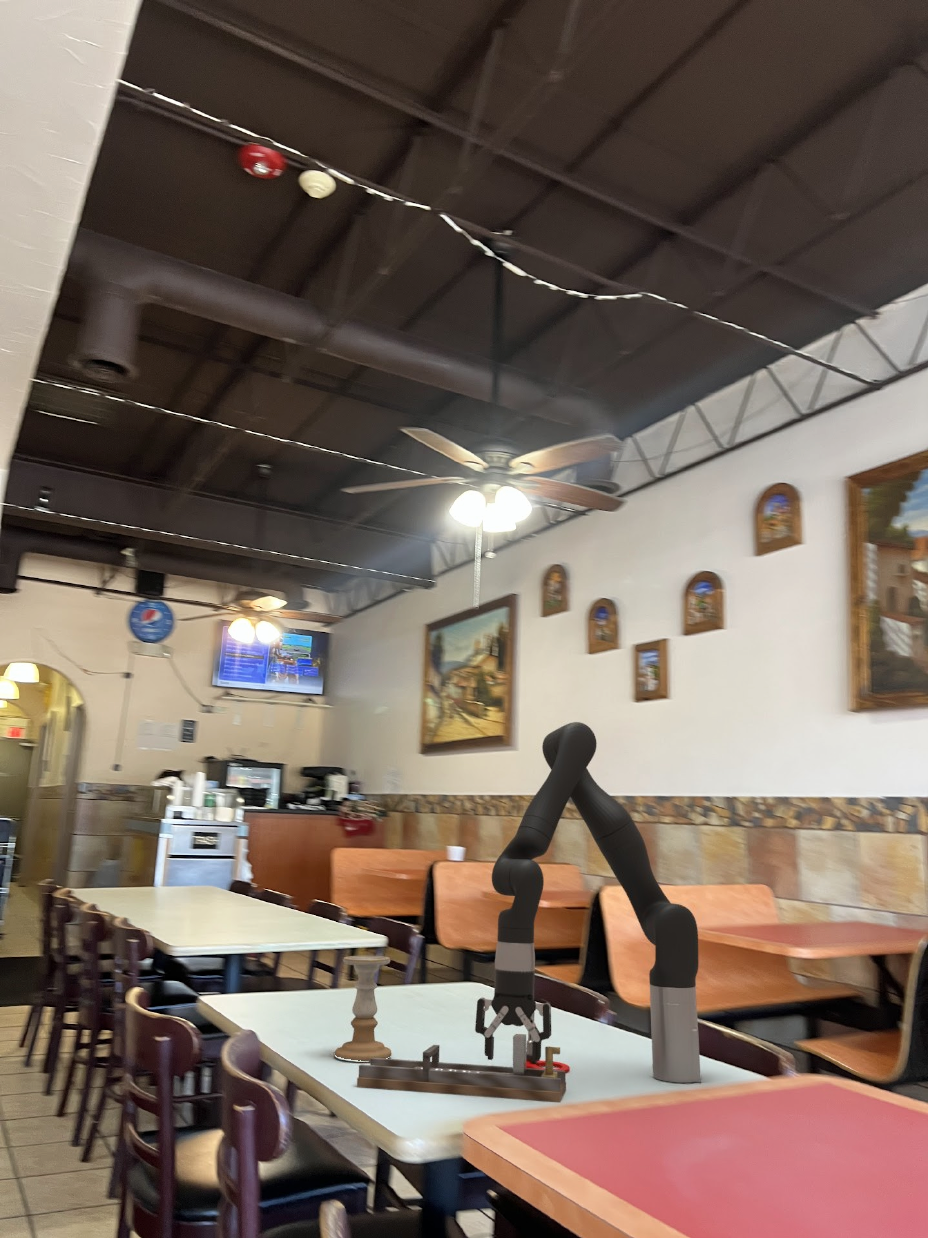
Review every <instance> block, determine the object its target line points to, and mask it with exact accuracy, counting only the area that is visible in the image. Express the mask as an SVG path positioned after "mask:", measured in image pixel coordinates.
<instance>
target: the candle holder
mask: <svg viewBox="0 0 928 1238" xmlns="http://www.w3.org/2000/svg"><path fill="white" fill-rule="evenodd" d="M342 961H343V963H344V964H346V965H349V966H353V967H354V970H355V972H356V974H357V976H358V979H357V981H356V983H354V985H353V986H354V988H355V990H356V995H355V999H354V1002H353V1006H352V1009H351V1010H352V1014H353V1015H354V1018H352V1020H351V1021H350V1025H351V1026H352V1028H353V1033H352V1039H351V1040H349V1041H346V1042H344V1043H342V1045H341V1046H339V1047H337V1048H336V1049H335V1050H334V1053H335V1055H336V1056H337V1057H341V1058H344V1059H351V1060H358V1061H360V1060H361V1061H370V1059H371V1058H384V1059H386V1058H388V1057H390V1056H391V1057H392V1050H391V1048H389V1047H387V1046H385V1043H383V1042H381V1041H377V1040H376V1039H375V1038H376V1037H375V1028H376V1027H377V1026H378V1024H379V1023H378V1020H377V1019H376V1018H375V1016H376V1015H377V1014H378V1006H377V1001H376V994H375V989H377V988H378V985H377V983H376V982H375V979H374V978H375V974H376V972H378V971H379V968H380V966H383V965H385V966H386V965H388V964H390V962H391V958H390V957H388V956H383V955H380V956H379V955H351V956H344V957H343V960H342ZM391 1057H390V1058H391Z"/></svg>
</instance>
